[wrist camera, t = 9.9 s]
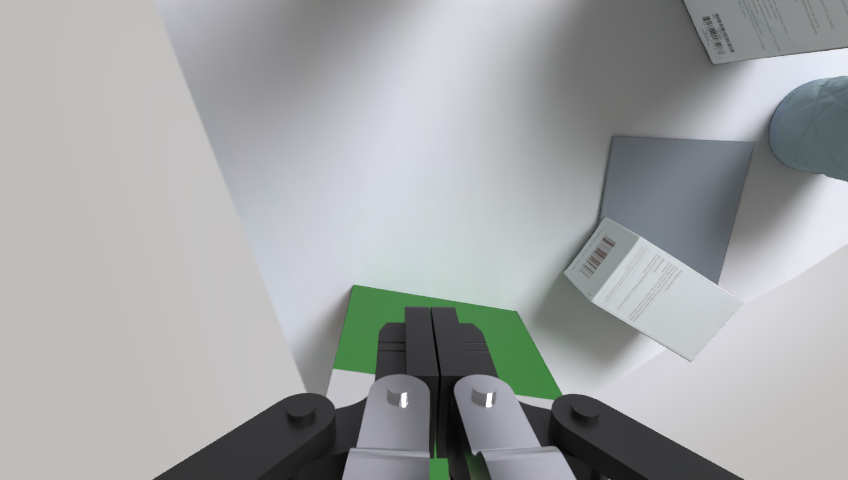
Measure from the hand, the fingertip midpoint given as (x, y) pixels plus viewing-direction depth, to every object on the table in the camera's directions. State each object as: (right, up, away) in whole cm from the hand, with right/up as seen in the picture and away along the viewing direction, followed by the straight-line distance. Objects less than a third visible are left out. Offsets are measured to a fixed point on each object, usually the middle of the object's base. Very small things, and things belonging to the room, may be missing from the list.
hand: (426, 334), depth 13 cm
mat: (+25, +5, +32) cm, 41 cm away
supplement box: (+16, +1, +29) cm, 33 cm away
